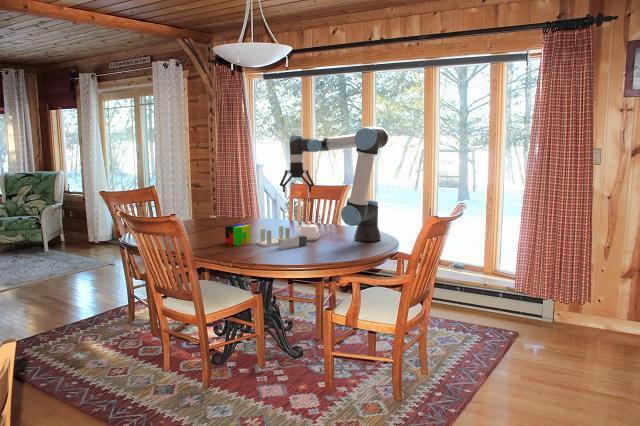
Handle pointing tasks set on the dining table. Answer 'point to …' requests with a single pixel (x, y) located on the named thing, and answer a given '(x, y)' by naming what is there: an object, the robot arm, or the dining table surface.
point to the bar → (292, 242)
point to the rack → (269, 240)
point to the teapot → (309, 231)
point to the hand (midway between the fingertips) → (297, 197)
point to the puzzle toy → (238, 234)
